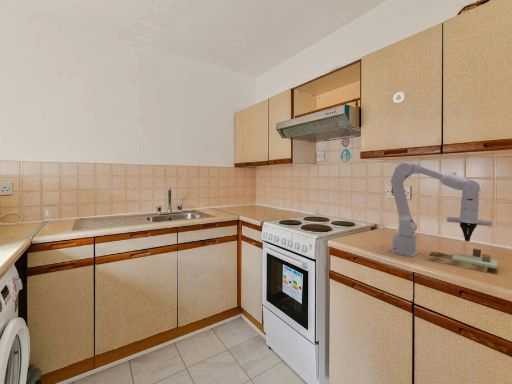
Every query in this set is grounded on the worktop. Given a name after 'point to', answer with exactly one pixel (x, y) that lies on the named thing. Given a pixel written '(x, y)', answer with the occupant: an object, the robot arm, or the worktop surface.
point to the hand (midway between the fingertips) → (467, 240)
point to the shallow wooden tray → (448, 260)
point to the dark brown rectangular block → (477, 252)
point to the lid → (476, 260)
